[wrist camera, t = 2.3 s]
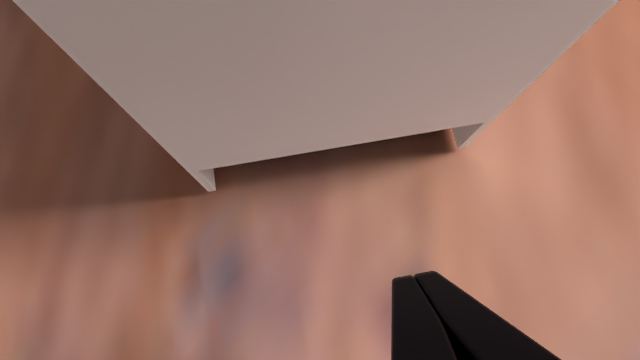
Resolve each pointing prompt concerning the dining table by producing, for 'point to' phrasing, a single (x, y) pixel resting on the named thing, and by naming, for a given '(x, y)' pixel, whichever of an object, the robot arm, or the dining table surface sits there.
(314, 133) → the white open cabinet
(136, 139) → the dining table surface
